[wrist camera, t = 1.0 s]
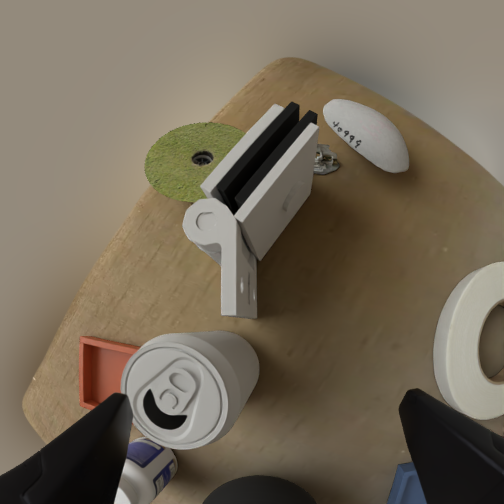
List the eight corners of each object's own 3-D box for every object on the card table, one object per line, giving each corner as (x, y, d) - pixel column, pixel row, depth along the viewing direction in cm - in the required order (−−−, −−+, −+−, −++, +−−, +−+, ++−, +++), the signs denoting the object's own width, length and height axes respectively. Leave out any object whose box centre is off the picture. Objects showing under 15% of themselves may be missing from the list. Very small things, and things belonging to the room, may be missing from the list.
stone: (309, 136, 28) (311, 104, 23) (340, 110, 28) (346, 78, 23) (385, 198, 25) (402, 173, 20) (412, 165, 26) (430, 138, 21)
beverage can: (175, 374, 24) (96, 403, 12) (211, 316, 25) (148, 307, 13) (235, 414, 22) (194, 478, 11) (275, 355, 23) (263, 384, 12)
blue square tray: (443, 505, 16) (450, 512, 14) (380, 521, 17) (384, 530, 15) (463, 449, 18) (471, 455, 16) (398, 464, 19) (404, 472, 17)
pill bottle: (122, 446, 22) (70, 476, 14) (155, 427, 23) (104, 460, 14) (154, 485, 21) (112, 525, 12) (189, 468, 21) (152, 515, 13)
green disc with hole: (130, 204, 26) (125, 191, 24) (170, 130, 31) (168, 117, 29) (247, 225, 25) (249, 212, 24) (266, 143, 31) (268, 130, 29)
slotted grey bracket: (276, 172, 27) (273, 155, 25) (279, 153, 28) (277, 135, 25) (338, 180, 26) (342, 163, 23) (339, 160, 27) (343, 142, 24)
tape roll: (486, 229, 21) (471, 238, 23) (415, 379, 19) (403, 374, 21) (560, 310, 17) (545, 313, 20) (504, 439, 15) (490, 433, 18)
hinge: (256, 322, 24) (233, 321, 14) (200, 296, 25) (147, 278, 15) (317, 181, 26) (326, 111, 17) (264, 163, 27) (250, 91, 18)
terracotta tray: (150, 421, 23) (141, 427, 21) (90, 402, 24) (79, 406, 22) (152, 348, 25) (142, 350, 23) (90, 336, 26) (79, 336, 24)
